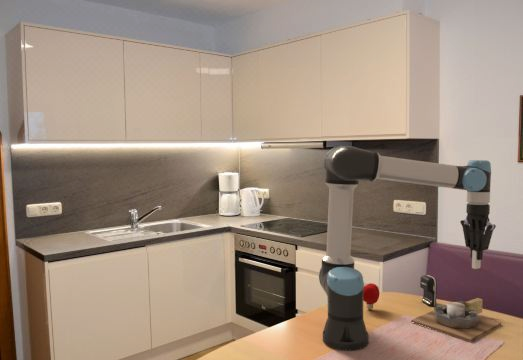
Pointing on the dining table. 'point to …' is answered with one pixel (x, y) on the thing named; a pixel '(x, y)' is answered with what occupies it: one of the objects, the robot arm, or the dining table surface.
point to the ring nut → (468, 321)
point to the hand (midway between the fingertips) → (476, 267)
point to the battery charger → (429, 290)
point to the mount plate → (461, 333)
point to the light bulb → (370, 295)
